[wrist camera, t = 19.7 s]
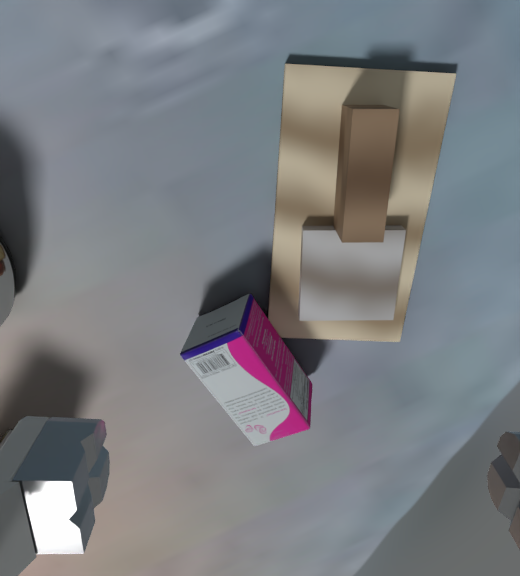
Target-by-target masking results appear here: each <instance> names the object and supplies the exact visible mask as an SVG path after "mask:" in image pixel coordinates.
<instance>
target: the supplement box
mask: <svg viewBox="0 0 520 576" xmlns="http://www.w3.org/2000/svg"><path fill="white" fill-rule="evenodd" d="M180 356H181V357H182V358H183V359H184V361H185V362H186V363H187V364H188V366H189V367H190V368H191V369H192V370H193V372H194V373H195V374H196V375H197V377H198V378H199V379H200V380H201V381H202V383H203V384H204V385H205V386H206V388H207V389H208V390H209V391H210V393H211V394H212V395H213V396H214V397H215V399H216V400H217V401H218V402H219V403H220V405H221V406H222V407H223V408H224V410H225V411H226V412H227V413H228V414H229V416H230V417H231V418H232V419H233V421H234V422H235V423H236V424H237V426H238V427H239V428H240V429H241V430H242V432H243V433H244V434H245V435H246V437H247V438H248V439H249V440H250V442H251V443H252V444H253V445H254V446H257V445H260V444H263V443H267V442H270V441H273V440H276V439H279V438H283V437H286V436H289V435H292V434H295V433H298V432H301V431H305V430H308V429H310V419H311V398H312V383H311V381H310V380H309V378H308V377H307V375H306V374H305V372H304V371H303V369H302V368H301V367H300V365H299V364H298V362H297V361H296V359H295V358H294V356H293V355H292V353H291V352H290V350H289V349H288V348H287V346H286V345H285V343H284V342H283V340H282V339H281V337H280V336H279V334H278V333H277V331H276V330H275V329H274V327H273V326H272V324H271V323H270V321H269V320H268V318H267V317H266V315H265V314H264V312H263V311H262V309H261V308H260V306H259V305H258V304H257V302H256V301H255V299H254V298H253V296H252V295H251V294H247V295H245V296H243V297H241V298H239V299H238V300H236V301H233V302H231V303H229V304H227V305H225V306H223V307H220V308H218V309H216V310H214V311H212V312H210V313H207V314H204V315H202V316H199V317H198V318H197V319H196V321H195V323H194V325H193V327H192V330H191V332H190V334H189V336H188V338H187V340H186V343H185V344H184V346H183V349H182V351H181V353H180Z"/></svg>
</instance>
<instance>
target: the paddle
mask: <svg viewBox="0 0 520 576" xmlns="http://www.w3.org/2000/svg"><path fill="white" fill-rule="evenodd" d="M399 111H400V109H397V108H393V107H390V106H386V105H342V109H341V123H340V137H339V151H338V164H337V178H336V192H335V206H334V220H333V226H302V234H301V258H300V282H299V306H298V316H299V321H340V320H393V318H394V311H395V304H396V297H397V290H398V283H399V276H400V269H401V262H402V255H403V248H404V241H405V234H406V230H405V229H404V228H403V227H402V225H398V226H385V225H386V217H387V209H388V201H389V192H390V184H391V176H392V168H393V160H394V151H395V143H396V135H397V127H398V119H399Z"/></svg>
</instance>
